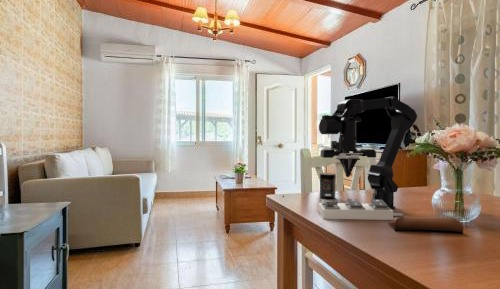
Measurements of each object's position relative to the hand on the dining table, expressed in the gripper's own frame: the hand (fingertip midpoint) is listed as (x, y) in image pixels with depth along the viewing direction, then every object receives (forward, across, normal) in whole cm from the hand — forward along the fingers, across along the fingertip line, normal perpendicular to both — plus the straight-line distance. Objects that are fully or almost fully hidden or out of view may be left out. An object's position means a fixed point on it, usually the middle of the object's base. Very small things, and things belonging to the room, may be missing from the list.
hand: (347, 177), depth 112 cm
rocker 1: (+7, +9, +9) cm, 15 cm away
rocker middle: (+8, +1, +10) cm, 12 cm away
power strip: (+12, -2, +9) cm, 15 cm away
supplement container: (+12, +2, -21) cm, 25 cm away
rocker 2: (+8, -7, +10) cm, 15 cm away
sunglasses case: (+13, -15, +23) cm, 30 cm away
